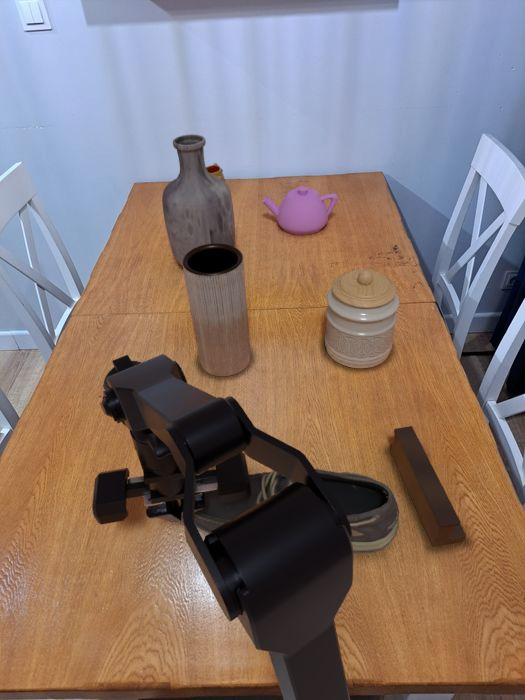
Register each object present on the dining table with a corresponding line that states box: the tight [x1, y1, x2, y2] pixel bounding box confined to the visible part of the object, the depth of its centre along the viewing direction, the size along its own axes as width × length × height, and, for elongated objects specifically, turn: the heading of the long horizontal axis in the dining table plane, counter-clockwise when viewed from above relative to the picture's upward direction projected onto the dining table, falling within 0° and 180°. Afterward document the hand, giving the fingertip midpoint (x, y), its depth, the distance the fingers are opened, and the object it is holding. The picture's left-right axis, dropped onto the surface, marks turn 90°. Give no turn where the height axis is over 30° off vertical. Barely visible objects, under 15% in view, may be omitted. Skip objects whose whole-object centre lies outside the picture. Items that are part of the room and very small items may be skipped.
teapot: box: [262, 185, 339, 236], centre depth 131 cm, size 14×20×11 cm
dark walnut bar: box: [390, 425, 467, 548], centre depth 70 cm, size 16×5×6 cm, turn 9°
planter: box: [182, 243, 252, 377], centre depth 88 cm, size 10×10×23 cm
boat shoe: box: [194, 468, 400, 554], centre depth 66 cm, size 11×29×11 cm, turn 87°
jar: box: [324, 268, 401, 369], centre depth 90 cm, size 13×13×18 cm
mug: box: [206, 162, 226, 182], centre depth 154 cm, size 12×7×7 cm, turn 173°
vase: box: [161, 134, 236, 267], centre depth 112 cm, size 16×16×30 cm
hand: (182, 519), depth 66 cm, fingers closed
